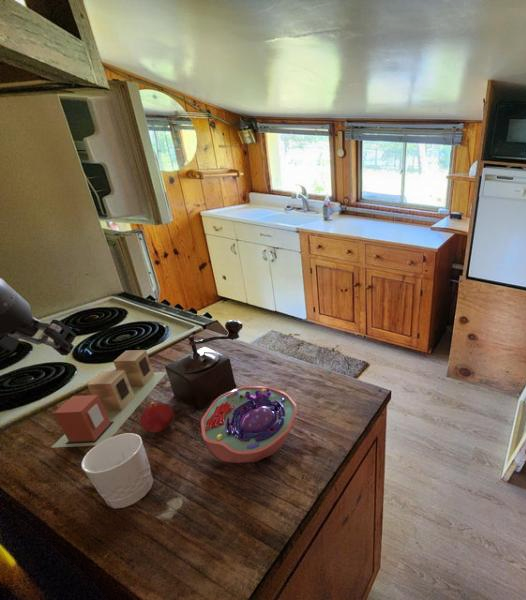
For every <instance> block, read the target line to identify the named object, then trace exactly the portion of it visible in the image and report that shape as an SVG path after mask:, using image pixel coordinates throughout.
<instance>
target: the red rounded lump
mask: <svg viewBox="0 0 526 600" xmlns="http://www.w3.org/2000/svg"><path fill="white" fill-rule="evenodd" d="M174 417H175V412H174V410H173V408H172V407H171V406H170V405H169V404H167V403H164V402H155V401H152V402H150V404H148V405H147V406H146V407H145V408H144V409H143V411H142V413H141V415H140V418H139V424H140V427H141V428H142V429H143V430H144V431H145V432H148V433H161V432H164V431H165V430H166V429H167V428H168V427H169V426H170V425H171V424H172V423H173V421H174Z"/></svg>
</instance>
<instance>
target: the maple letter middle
mask: <svg viewBox="0 0 526 600" xmlns="http://www.w3.org/2000/svg"><path fill="white" fill-rule="evenodd" d="M86 387H87V388H88V390H89V391H88V392H89V393H90V394H91V395H98V396H99V399H100V401H101V403H102V405H103V407H104V410H105V412H109V411H122V410H123V409H124V408H125V407H126V406H127V405H128V404H129V403H130V401H131V400H132V399H133V398H134V397H135V396H134V394H133V391H132V388H131V386H130V383H129V381H128V378H127V376H126V373H125V371H124V370H123V371H117V370H101V372H99V373H98V374H97V375H96V376H94V377H93V378H92V379H91V380H90V381H89V382H88V383H87V384H86Z"/></svg>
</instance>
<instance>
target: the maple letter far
mask: <svg viewBox="0 0 526 600" xmlns="http://www.w3.org/2000/svg"><path fill="white" fill-rule="evenodd" d="M112 362H113V365H114V367H115V369H116V371H123V370H124V371H125V373H126V376H127V378H128V381H129V383H130V386H131V387H144V386H145V385H146V384H147V383H148V381H149V380H150V379H151V378H152V377H153V376H154V372H155V371H154V369H153V366H152V363H151V360H150V358H149V355H148V352H147V350H146V349H134V350H131V349H129V350H124V352H123V353H121V354H120V355H119V356H118V357H117V358H116V359H114V360H113V361H112Z"/></svg>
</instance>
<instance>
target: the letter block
mask: <svg viewBox="0 0 526 600" xmlns="http://www.w3.org/2000/svg"><path fill="white" fill-rule="evenodd" d="M53 415H54V417H55V418H56V420H57V422H58V424H59V426H60V428H61V430H62V432H63V433H64V434H65V435H66V437H67V439H68V440H69V442H80V441H95V440H96V439H97V438H98V437H99V436H100V434H101V433H102V432H103V431H104V430H105V429H106V428H107V427H108V426H109V424H110V421H109V418H108V416H107V414H106V412H105V410H104V407H103V405H102V403H101V401H100V399H99V396H98V395H73V396H71V397H70V398H69V399H67V400H66V401H65V402H64V403H63V404H62V405H61V406H59V407H58V408H57V409H56V410H55V411H54V412H53Z"/></svg>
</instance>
